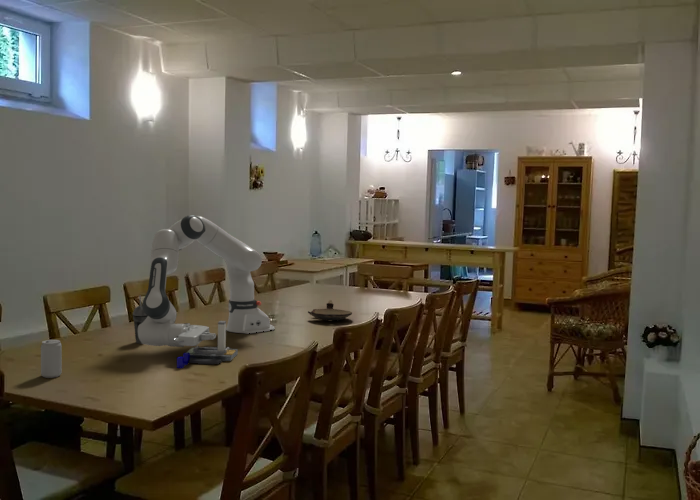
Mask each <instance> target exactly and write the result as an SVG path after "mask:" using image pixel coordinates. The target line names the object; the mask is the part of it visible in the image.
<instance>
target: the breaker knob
mask: <svg viewBox="0 0 700 500" xmlns="http://www.w3.org/2000/svg"><path fill="white" fill-rule="evenodd" d="M226 328H227V321H226V320H219V321H218V322H217V347H218V351H224V350H225V349H226V347H227V346H226V344H227V343H226V342H227V330H226Z"/></svg>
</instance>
